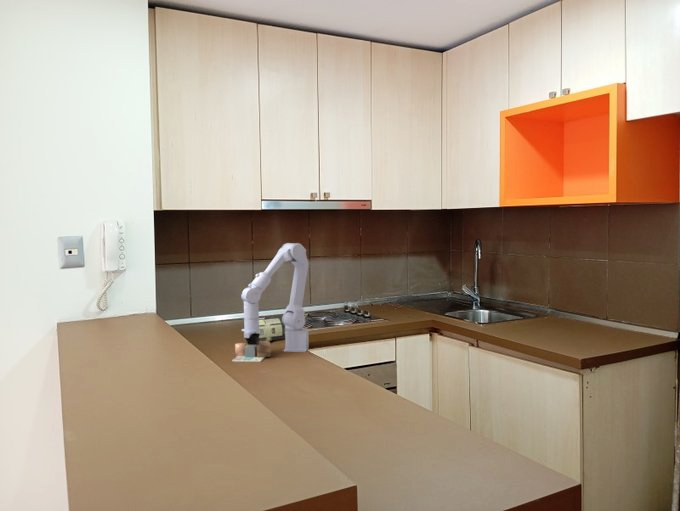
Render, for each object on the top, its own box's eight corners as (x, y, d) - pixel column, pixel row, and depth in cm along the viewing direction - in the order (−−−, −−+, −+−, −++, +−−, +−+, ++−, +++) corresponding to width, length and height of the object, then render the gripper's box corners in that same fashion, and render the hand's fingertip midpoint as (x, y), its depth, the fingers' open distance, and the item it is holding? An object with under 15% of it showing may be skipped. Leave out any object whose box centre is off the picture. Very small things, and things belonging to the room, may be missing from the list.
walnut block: (268, 354, 213) (268, 344, 213) (270, 356, 210) (270, 346, 210) (256, 356, 211) (256, 346, 211) (258, 357, 209) (258, 347, 208)
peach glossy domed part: (247, 354, 215) (247, 342, 215) (244, 356, 211) (244, 345, 211) (237, 353, 216) (236, 342, 216) (233, 356, 212) (233, 345, 211)
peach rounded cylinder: (271, 351, 218) (271, 340, 218) (268, 354, 214) (268, 343, 214) (260, 351, 219) (260, 340, 219) (257, 354, 215) (257, 343, 214)
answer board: (269, 353, 218) (269, 351, 218) (260, 361, 204) (260, 360, 204) (243, 353, 220) (242, 351, 220) (232, 361, 206) (232, 359, 206)
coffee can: (246, 337, 242) (275, 334, 248) (253, 348, 233) (283, 345, 240) (247, 316, 239) (277, 313, 245) (254, 327, 230) (285, 324, 236)
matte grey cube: (257, 354, 213) (257, 344, 213) (254, 357, 210) (254, 347, 209) (247, 354, 214) (247, 344, 214) (244, 357, 210) (244, 347, 210)
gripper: (247, 315, 221) (248, 347, 221) (235, 321, 206) (237, 356, 207) (263, 315, 220) (264, 348, 220) (253, 321, 205) (254, 356, 206)
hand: (252, 352), depth 214 cm, fingers closed, pressing on matte grey cube
